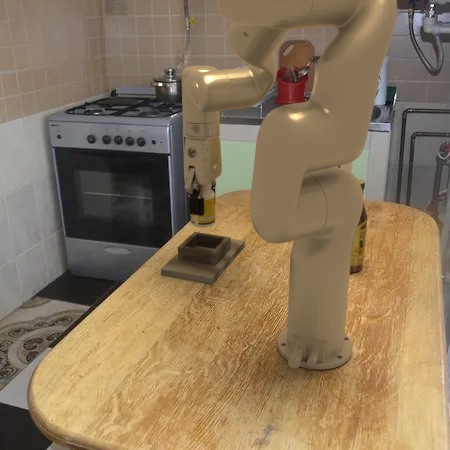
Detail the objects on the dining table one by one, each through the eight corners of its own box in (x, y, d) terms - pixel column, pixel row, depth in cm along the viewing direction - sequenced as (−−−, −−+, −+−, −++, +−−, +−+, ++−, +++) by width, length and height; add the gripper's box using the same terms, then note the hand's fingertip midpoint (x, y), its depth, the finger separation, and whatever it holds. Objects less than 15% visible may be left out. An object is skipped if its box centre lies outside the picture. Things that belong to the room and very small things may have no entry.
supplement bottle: (219, 221, 123) (219, 180, 119) (206, 230, 119) (205, 187, 115) (199, 216, 126) (199, 175, 122) (185, 224, 121) (184, 182, 117)
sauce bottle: (363, 275, 118) (371, 187, 110) (333, 272, 119) (340, 185, 111) (362, 261, 124) (370, 177, 116) (334, 259, 125) (340, 175, 117)
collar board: (212, 284, 115) (211, 265, 113) (160, 275, 119) (159, 256, 117) (244, 246, 132) (244, 229, 130) (199, 239, 136) (198, 222, 134)
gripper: (201, 140, 105) (202, 226, 112) (233, 120, 120) (232, 198, 127) (165, 136, 108) (169, 221, 115) (201, 118, 122) (203, 194, 129)
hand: (202, 208), depth 121 cm, fingers closed on supplement bottle, 5 cm apart
